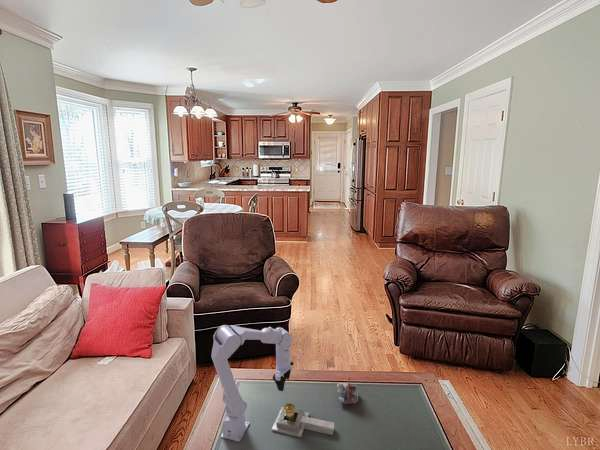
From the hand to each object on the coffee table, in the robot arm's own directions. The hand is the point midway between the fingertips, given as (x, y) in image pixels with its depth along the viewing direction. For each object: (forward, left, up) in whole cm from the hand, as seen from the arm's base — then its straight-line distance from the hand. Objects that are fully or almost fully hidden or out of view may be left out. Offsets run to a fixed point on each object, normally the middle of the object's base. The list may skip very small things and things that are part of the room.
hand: (283, 384), depth 150 cm
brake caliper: (+11, -26, -10) cm, 30 cm away
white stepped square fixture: (-9, -12, -10) cm, 18 cm away
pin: (-9, -6, -10) cm, 14 cm away
